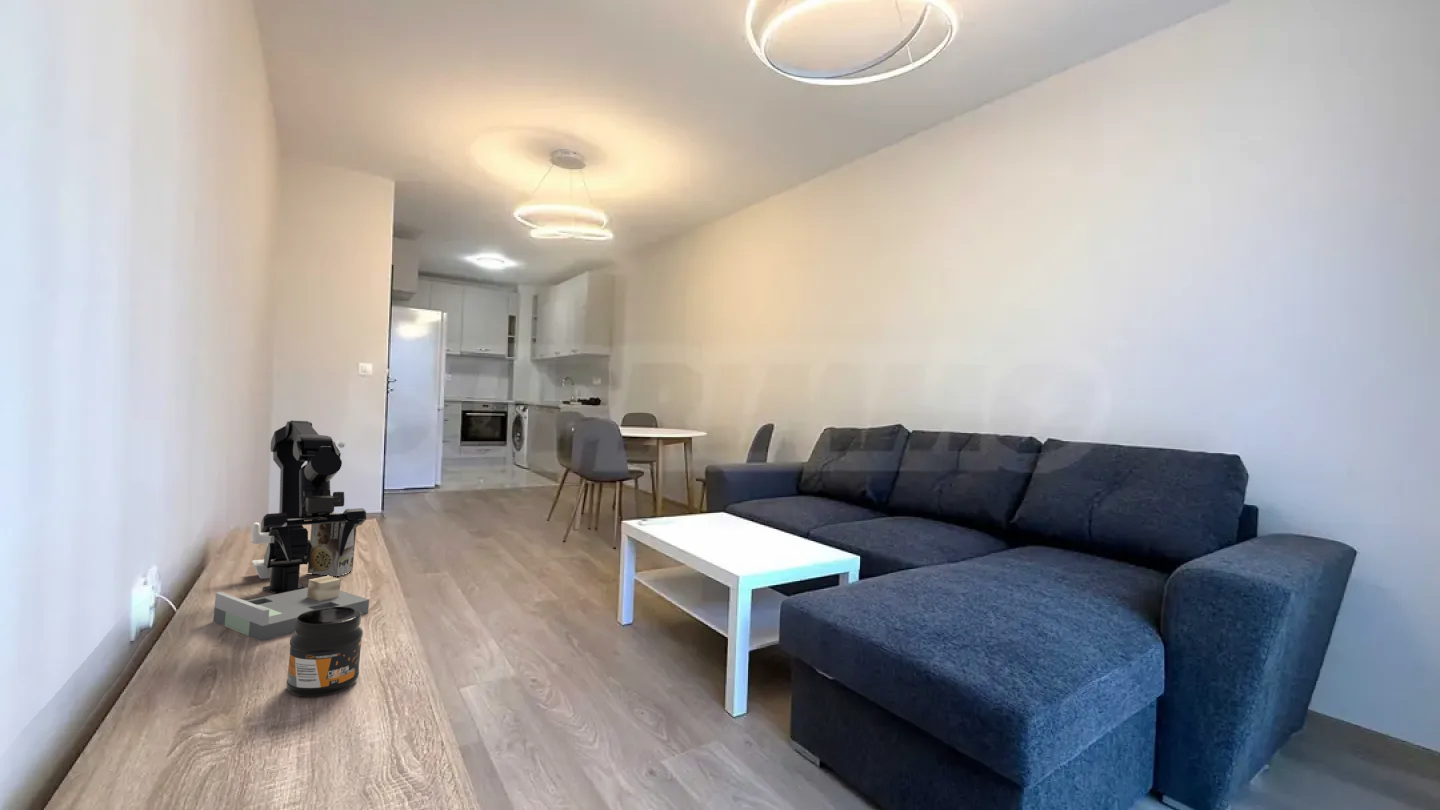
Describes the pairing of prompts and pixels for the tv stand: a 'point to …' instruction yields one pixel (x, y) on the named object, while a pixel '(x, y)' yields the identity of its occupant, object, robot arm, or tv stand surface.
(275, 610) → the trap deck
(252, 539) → the figurine
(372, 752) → the tv stand surface
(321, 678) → the supplement container
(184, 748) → the tv stand surface
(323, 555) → the coffee box
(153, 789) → the tv stand surface
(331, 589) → the maple block
